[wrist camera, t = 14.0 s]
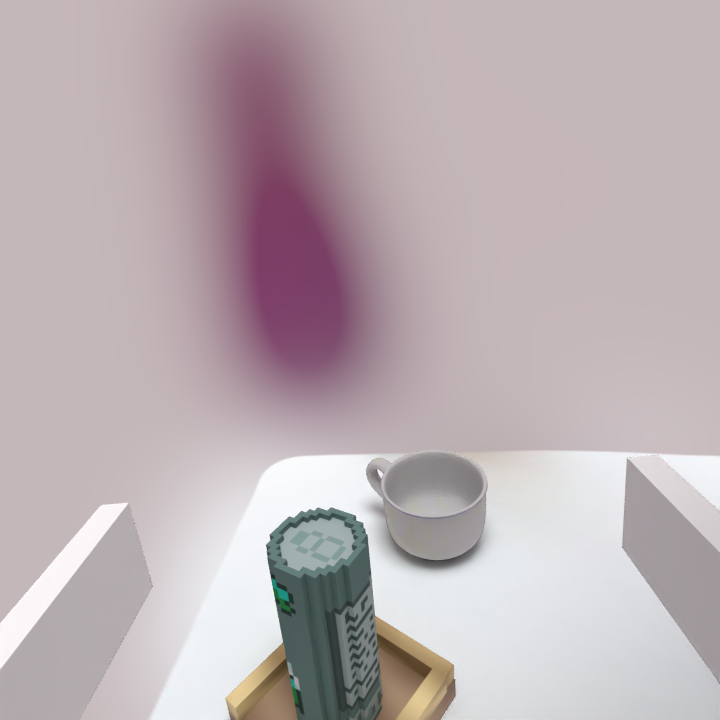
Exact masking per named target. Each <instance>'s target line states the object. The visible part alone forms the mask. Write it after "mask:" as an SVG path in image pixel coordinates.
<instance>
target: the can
mask: <svg viewBox="0 0 720 720" xmlns="http://www.w3.org/2000/svg"><path fill="white" fill-rule="evenodd" d="M270 540H271V541H270V542H269V543H268V544H266V547H267V555H268V557H267V558H268V564H269V569H270V574H271V580H272V585H273V590H274V596H275V601H276V606H277V612H278V617H279V622H280V628H281V633H282V638H283V644H284V649H285V654H286V660H287V665H288V670H289V676H290V681H291V686H292V692H293V697H294V702H295V708H296V713H297V718H298V720H376V719H377V717H378V715H379V713H380V711H381V709H382V704H381V698H382V686H381V675H380V664H379V654H378V643H377V632H376V622H375V611H374V600H373V590H372V579H371V568H370V558H369V547H368V536H367V534H366V532H365V528H363V523H362V522H359V521H356V516H355V515H352V514H349V513H346V512H343V511H340V510H337V509H334V508H330V509H329V510H328V511H327V510H324V509H321V508H317V509H316V510H315V511H313V510H310V509H309V510H308V511H307V512H306V513H305V512H303V511H301V512H300V513H299V514H298V515H297V516H296V517H295V518H292V517H290V516H289V517H288V518H287V519H286V520H285V521H284V522H283V523H282V524H281V525H280V526H279V527H278V528H276V529H275V530H274V531H273V532H272V533H271V534H270Z"/></svg>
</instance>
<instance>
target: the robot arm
mask: <svg viewBox="0 0 720 720" xmlns="http://www.w3.org/2000/svg"><path fill="white" fill-rule="evenodd" d="M622 548H623V549H624V551H625V552H626V554H627V555H628V556H629V558H630V559H631V561H632V562H633V563H634V565H635V566H636V568H637V569H638V570H639V572H640V573H641V574H642V576H643V577H644V579H645V580H646V581H647V583H648V584H649V586H650V587H651V588H652V590H653V591H654V593H655V594H656V595H657V597H658V598H659V600H660V601H661V602H662V604H663V605H664V607H665V608H666V609H667V611H668V612H669V613H670V615H671V616H672V618H673V619H674V620H675V622H676V623H677V625H678V626H679V627H680V629H681V630H682V632H683V633H684V634H685V636H686V637H687V639H688V640H689V641H690V643H691V644H692V646H693V647H694V648H695V650H696V651H697V652H698V654H699V655H700V657H701V658H702V659H703V661H704V662H705V664H706V665H707V666H708V668H709V669H710V671H711V672H712V673H713V675H714V676H715V678H716V679H717V680H718V682H719V683H720V511H719V510H718V509H717V508H716V507H715V506H713V505H712V504H711V503H710V502H709V501H708V500H707V499H706V498H705V497H704V496H702V495H701V494H700V493H699V492H698V491H697V490H696V489H695V488H694V487H692V486H691V485H690V484H689V483H688V482H687V481H686V480H685V479H684V478H682V477H681V476H680V475H679V474H678V473H677V472H676V471H675V470H674V469H673V468H671V467H670V466H669V465H668V464H667V463H666V462H665V461H664V460H663V459H661V458H660V457H659V456H658V455H652V456H641V457H630V458H627V468H626V486H625V504H624V523H623V541H622ZM152 587H153V585H152V581H151V578H150V575H149V571H148V567H147V564H146V560H145V557H144V554H143V550H142V547H141V543H140V540H139V536H138V533H137V529H136V526H135V522H134V519H133V515H132V512H131V509H130V505H129V503H120V504H108V505H101V506H100V507H99V508H98V509H97V511H96V512H95V513H94V514H93V515H92V517H91V518H90V519H89V520H88V521H87V522H86V523H85V525H84V526H83V527H82V528H81V529H80V531H79V532H78V533H77V534H76V535H75V536H74V538H73V539H72V540H71V541H70V542H69V543H68V545H67V546H66V547H65V548H64V549H63V551H62V552H61V553H60V554H59V555H58V556H57V557H56V559H55V560H54V561H53V562H52V563H51V564H50V566H49V567H48V568H47V569H46V570H45V572H44V573H43V574H42V575H41V576H40V577H39V579H38V580H37V581H36V582H35V583H34V585H33V586H32V587H31V588H30V589H29V590H28V591H27V593H26V594H25V595H24V596H23V597H22V599H21V600H20V601H19V602H18V603H17V604H16V606H15V607H14V608H13V609H12V610H11V611H10V612H9V614H8V615H7V616H6V617H5V618H4V620H3V621H2V622H1V623H0V720H80V718H81V716H82V715H83V713H84V711H85V709H86V707H87V705H88V704H89V702H90V700H91V698H92V696H93V695H94V693H95V691H96V689H97V687H98V685H99V684H100V682H101V680H102V678H103V676H104V674H105V673H106V671H107V669H108V667H109V665H110V664H111V662H112V660H113V658H114V656H115V654H116V653H117V651H118V649H119V647H120V645H121V643H122V642H123V640H124V638H125V636H126V634H127V632H128V631H129V629H130V627H131V625H132V623H133V621H134V620H135V618H136V616H137V614H138V612H139V610H140V609H141V607H142V605H143V603H144V601H145V599H146V598H147V596H148V594H149V592H150V590H151V589H152Z"/></svg>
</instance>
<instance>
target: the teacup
mask: <svg viewBox="0 0 720 720" xmlns="http://www.w3.org/2000/svg"><path fill="white" fill-rule="evenodd" d="M377 469H379V470H380V471H382V472H383V474H384V475H383V477H382V479H381V478H380V476H379V474H378V472H377ZM366 475H367V478H368V481H369V483H370V485H371V486H372V487H373V489H374V490H375V491H376V492H377V493H378V494H379V495H380V496H381V497H382V498H383V501H384V509H385V516H386V521H387V525H388V528H389V531H390V534H391V535H392V537H393V539H394V540H395V542H396V543H397V544H398V545H399V546H400V547H401V548H403V549H404V550H405V551H406V552H408V553H410V554H412V555H414V556H417V557H420V558H424V559H429V560H445V559H450V558H453V557H457V556H459V555H461V554H463V553H465V552H467V551H468V550H469V549H471V548H472V547H473V546H474V545H475V544H476V542H477V541H478V540H479V538H480V536H481V534H482V531H483V528H484V524H485V514H486V491H487V479H486V476H485V473H484V471H483V470H482V468H481V467H480V466H479V465H478V464H477V463H476V462H474V461H473V460H472V459H470V458H468V457H466V456H464V455H462V454H459V453H456V452H450V451H446V450H423V451H417V452H413V453H410V454H408V455H405V456H403V457H401V458H400V459H398V460H396V461H395V462H393V463H392V464H391V463H390V462H389V461H387V460H385V459H383V458H376V459H374V460H372V461H371V462H370V463H369V464H368V466H367V469H366Z"/></svg>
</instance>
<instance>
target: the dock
mask: <svg viewBox="0 0 720 720" xmlns="http://www.w3.org/2000/svg"><path fill="white" fill-rule="evenodd" d="M375 622H376V632H377V643H378V654H379V664H380V675H381V686H382V698H381V704H382V709H381V711H380V713H379V715H378V717H377V719H376V720H440V719H441V717H442V716H443V714H444V713H445V711H446V709H447V708H448V706H449V705H450V703H451V702H452V700H453V699H454V697H455V679H454V665H453V664H452V663H450V662H448V661H447V660H445V659H444V658H442V657H440V656H439V655H437V654H436V653H434V652H432V651H431V650H429V649H427V648H426V647H424V646H423V645H421V644H419V643H418V642H416V641H415V640H413V639H411V638H410V637H408V636H407V635H405V634H403V633H402V632H400V631H399V630H397V629H395V628H394V627H392V626H391V625H389V624H387V623H386V622H384V621H383V620H381V619H379V618H378V617H376V616H375ZM225 699H226V703H227V707H228V710H229V714H230V718H231V720H298V718H297V713H296V708H295V702H294V697H293V692H292V686H291V681H290V676H289V670H288V665H287V660H286V654H285V649H284V644H283V643H282V644H281V645H280V646H279V647H278V648H277V649H276V650H275V651H274V652H273V653H272V654H271V655H270V656H269V657H268V658H267V659H266V660H265V661H263V662H262V663H261V664H260V665H259V666H258V667H257V668H256V669H255V670H254V671H253V672H252V673H251V674H250V675H249V676H248V677H247V678H246V679H245V680H244V681H243V682H242V683H241V684H240V685H239V686H238V687H237V688H235V689H234V690H233V691H232V692H231V693H230V694H229V695H228V696H227V697H226V698H225Z"/></svg>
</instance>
